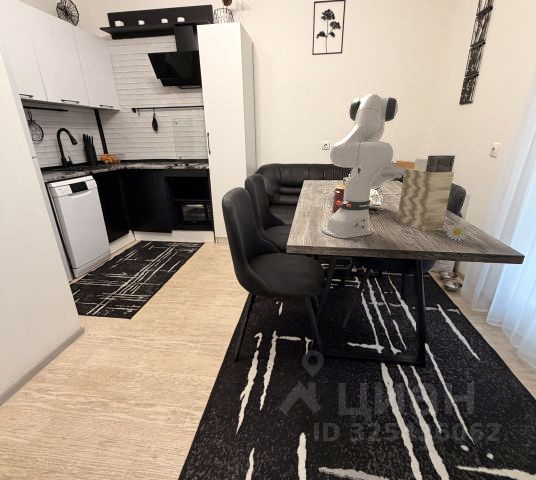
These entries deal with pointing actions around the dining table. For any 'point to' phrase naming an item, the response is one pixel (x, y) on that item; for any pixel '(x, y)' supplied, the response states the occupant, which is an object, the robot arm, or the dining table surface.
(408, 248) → the dining table surface
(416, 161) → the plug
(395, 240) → the dining table surface
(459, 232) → the decorative flower
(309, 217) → the dining table surface
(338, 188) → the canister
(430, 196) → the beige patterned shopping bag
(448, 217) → the dining table surface
